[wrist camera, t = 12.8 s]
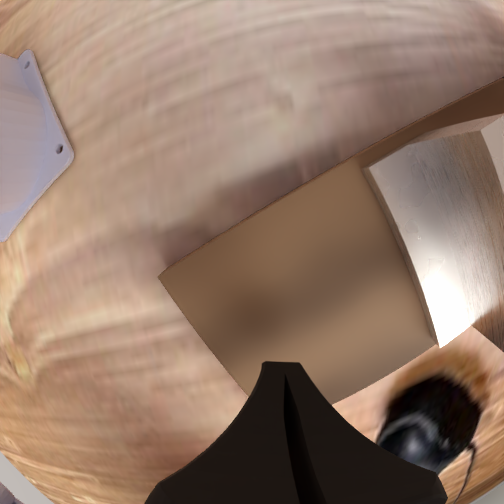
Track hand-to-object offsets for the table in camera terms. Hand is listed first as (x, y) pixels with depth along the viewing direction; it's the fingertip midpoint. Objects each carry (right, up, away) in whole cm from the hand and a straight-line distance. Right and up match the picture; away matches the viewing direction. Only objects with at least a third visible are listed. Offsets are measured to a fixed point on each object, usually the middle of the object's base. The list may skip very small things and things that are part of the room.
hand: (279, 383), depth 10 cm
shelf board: (+10, +7, +2) cm, 12 cm away
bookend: (+8, +6, +1) cm, 10 cm away
